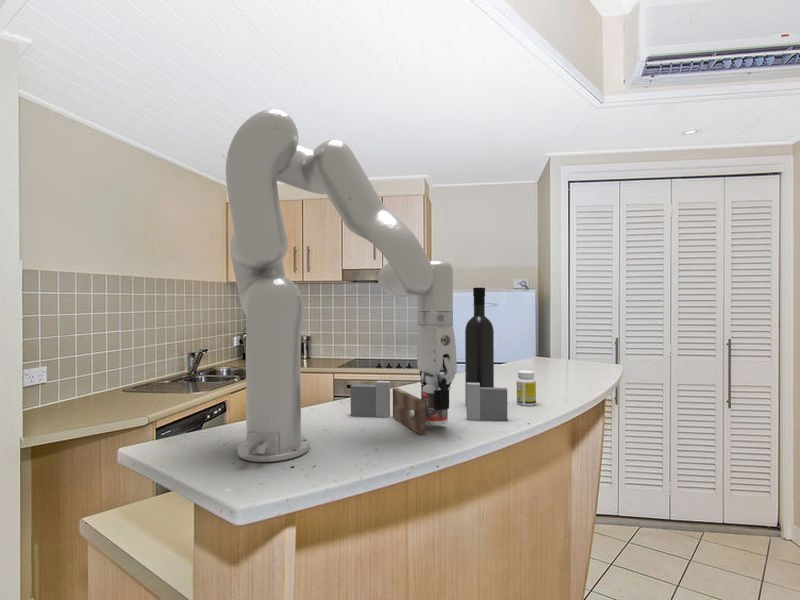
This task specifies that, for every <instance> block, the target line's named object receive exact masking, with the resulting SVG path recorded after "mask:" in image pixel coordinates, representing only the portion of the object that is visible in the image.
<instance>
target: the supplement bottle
mask: <svg viewBox="0 0 800 600" xmlns="http://www.w3.org/2000/svg"><path fill="white" fill-rule="evenodd" d="M517 377H518V378H516V403H517V405H519V406H522V405H523V406H524V407H533V406H536V404H537V385H536V384H537V382H536V379H535V372H534V371H533V370H525V369H524V370H518V372H517Z"/></svg>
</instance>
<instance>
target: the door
mask: <svg viewBox="0 0 800 600" xmlns="http://www.w3.org/2000/svg"><path fill="white" fill-rule="evenodd" d="M392 418H395V419H396V420H398V421H399V422H401V423H402V424H403V425H405V426H407V427H408V428H409V429H411V430H412V431H414V432H416V433H418V435H425V434H426V423H425V401H424V400H421V398H420V397H417V396H416V395H414V394H411V393H409V392H407V391H405V390H403V389H401V388H399V387H393V388H392Z"/></svg>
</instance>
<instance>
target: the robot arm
mask: <svg viewBox="0 0 800 600" xmlns="http://www.w3.org/2000/svg"><path fill="white" fill-rule="evenodd" d="M225 160H226V161H225V181H226V188H227V196H228V202H229V211H230V215H231V221H232V227H233V234H232V236H231V240H230V243H229V244H230V247H229V248H230V256H231V263H232V268H233V273H234V277H235V284H236V287H237V293H238V298H239V302H240V305H241V309H242V311H243V314H244V315H245V316H246V326H245V327H246V328H245V329H246V330H245V331H246V332H245V333H246V335H245V388H246V389H245V391H246V392H245V393H246V394H245V395H246V396H245V397H246V399H245V409H246V411H245V413H246V418H245V420H246V425H245V426H246V429H245V430H246V433H245V434H246V439H245V440H244V441H243V442H241V443H240V444H239V445H238V446H237V448H236V450H237V451H236V452H237V456H238V457H239V458H241V459H242V460H245V461H249V462H255V463H270V462H271V463H273V462H280V461H287V460H291V459H294V458H297V457H299V456H302V455H304V454H306V453H307V452H308V451H309V450H310V448H311V441H310V439H309V438H307V437H305V436H303V435H302V376H301V375H302V363H301V361H302V360H301V357H302V356H301V355H302V354H301V352H302V351H301V348H302V347H301V346H302V345H301V342H302V329H303V316H304V302H303V296H302V293H301V291H300V289H299V288H298V286H297V284H295V283H294V282H293V281H292V280H291V279H289V278H288V277H286V273H285V269H284V263H283V259H284V258H285V256H286V254H287V252H288V245H289V243H288V237H287V232H286V229H285V225H284V224H285V223H284V220H283V214H282V209H281V203H280V199H279V198H280V197H279V191H278V182H280V183H282V184H286V185H289V186H291V187H294V188H297V189H300V190H303V191H307V192H309V193H313V194H318V195H319V194H320V195H326V196H327V197H328V199H329V201H330V203H331V204H332V206H333V207H334V209H335V210H336V212H337V214H338V216H339V217H340V219H341V221H342V222H343V224H344V225H345V226H346V228H347V229H348V230H349V231H351V232H352V233H353V234H355V235H357V236H358V237H361V238H362V239H365V240H366V241H368V242H370V243H371V244H372V245H373V246H374V247H375V248H376V249H377V250H378V251H379V252H380V253H381V254H382V255H383V257H384V258H385V259H386V261H387V263H385V264H384V265H382V267H381V268H380V269H379V272H378V274H377V282H378V285H379V287H380V289H381V290H382V291H383V292H385V293H386V294H387V295H389V296H394V297H412V296H413V297H414V296H416V327H417V328H418V333H417V346H416V347H417V349H416V362H417V363H416V365H417V369H418V371H419V372H418V373H419V376H420V386H421V390H420V395H421V396H420V397H421V398H420V399H421V400H422V388H423V386H425V385H427V383H426V381H425V377H426V375H429V374H430V375H433V376H434V378H435V385H436V390H434V409H435V410H444V409H448V410H449V409H450V390H451V384H452V382H453V380H454V379H455V375H456V373H457V370H458V369H457V368H458V366H457V362H458V361H457V348H456V337H455V333H454V320H453V319H454V316H453V314H454V313H453V311H454V284H453V283H454V281H453V280H454V278H453V277H454V273H453V272H454V271H453V265H452V264H451V263H450V262H448V261H444V260H430V259H429V257H428V256H427V253H426V252H425V250H424V248H423V247H422V244H421V243H420V241H419V240H418V239H417V237H416V236H415V234H414V233H413V231H412V230H411V229H410V228H409V227H408V226H407V225H406V224H404V222H402V220H401V219H400V218H398V216H396V215H395V213H393V212H392V211H391V210H390V209H388V208H387V207H386V206H385V205H384V203H383V201H382V200H381V198H380V196H379V195H378V192H377V191H376V190H375V188H374V186H373V185H372V182H371V181H370V180H369V178H368V176H367V174H366V172H365V171H364V168H363V167H362V165H361V164H360V162H359V160H358V159H357V157H356V155H355V154H354V152H353V151H352V150H351V148H350V147H349V146H348V144H346V143H345V142H343V141H342V140H339V139H329V140H327V141H324V142H322V143H320V144H318V145H317V146H316V147H315V148H314V149H313V150H312V149H309V148H306V147H303V146H300V145H299V132H298V128H297V125H296V124H295V121H294V120H293V119H292V117H291V116H290V115H289V114H288V113H286V112H285V111H282V110H281V109H276V108H269V109H264V110H261V111H258V112H256V113H255V114H253V115H252V116H250V117H249V118H247V119H246V120H245V121H244V122H243V123H242V124H241V126H239V128H238V129H237V130H236V132H235V134H234V136H233V137H232V139H231V142H230V145H229V147H228V151H227V155H226V159H225ZM441 373H442V374H441ZM439 374H440V375H439ZM439 378H444V379H442V380H441V382H440V379H439Z"/></svg>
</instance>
